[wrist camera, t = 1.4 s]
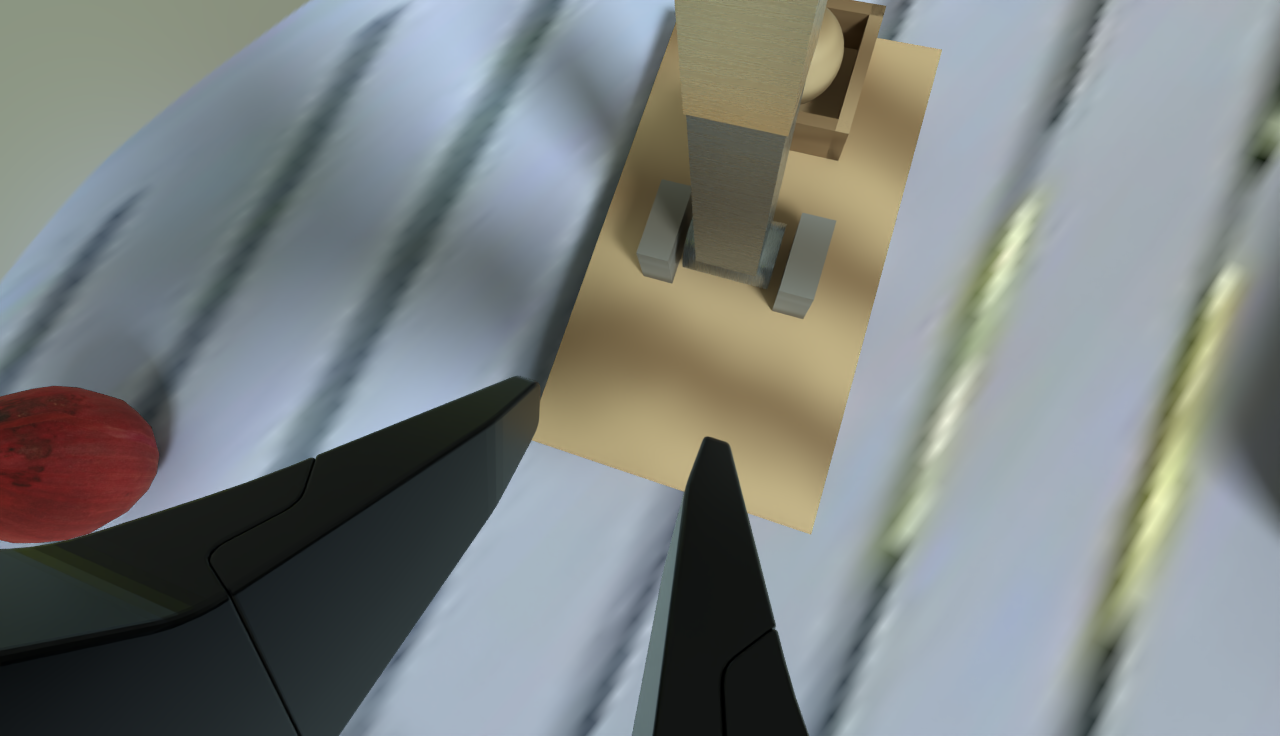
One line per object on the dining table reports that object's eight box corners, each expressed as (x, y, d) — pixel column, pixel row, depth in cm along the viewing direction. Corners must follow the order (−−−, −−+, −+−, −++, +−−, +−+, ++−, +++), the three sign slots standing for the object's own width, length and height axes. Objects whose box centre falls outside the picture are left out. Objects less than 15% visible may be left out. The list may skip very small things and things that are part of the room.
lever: (764, 298, 22) (850, -4, 8) (683, 276, 22) (643, -40, 9) (802, 172, 22) (937, -286, 9) (723, 154, 23) (742, -301, 10)
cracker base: (804, 531, 21) (823, 540, 18) (537, 441, 23) (505, 433, 20) (928, 75, 25) (966, 2, 21) (684, 29, 26) (679, -45, 23)
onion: (153, 376, 26) (-82, 330, 18) (232, 453, 25) (16, 438, 17) (66, 479, 26) (-214, 476, 18) (142, 562, 24) (-124, 597, 17)
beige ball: (846, 108, 23) (870, 40, 20) (760, 137, 23) (769, 75, 20) (814, 37, 24) (832, -40, 20) (732, 65, 24) (736, -6, 21)
